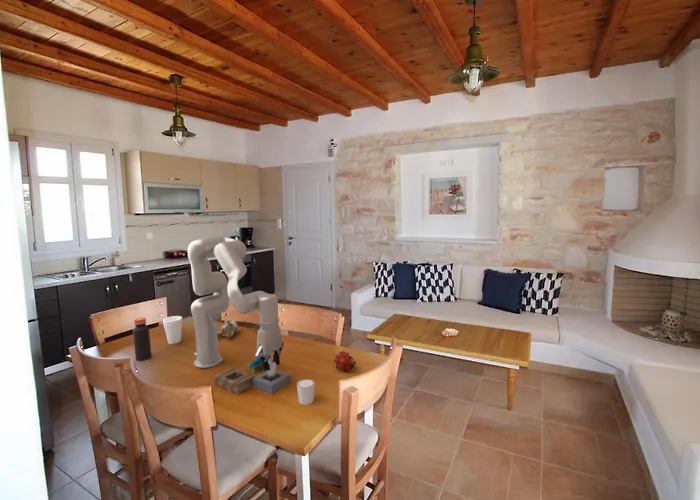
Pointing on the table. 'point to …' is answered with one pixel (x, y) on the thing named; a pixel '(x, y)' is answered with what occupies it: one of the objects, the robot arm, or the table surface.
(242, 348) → the table surface
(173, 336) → the foam cup
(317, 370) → the table surface
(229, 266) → the robot arm
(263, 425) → the table surface
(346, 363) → the dragon fruit
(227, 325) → the ceramic sculpture
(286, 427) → the table surface
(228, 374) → the brown rectangular frame
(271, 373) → the axle
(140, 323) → the bottle
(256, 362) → the gear
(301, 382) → the white fluted cup
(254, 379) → the socket block
